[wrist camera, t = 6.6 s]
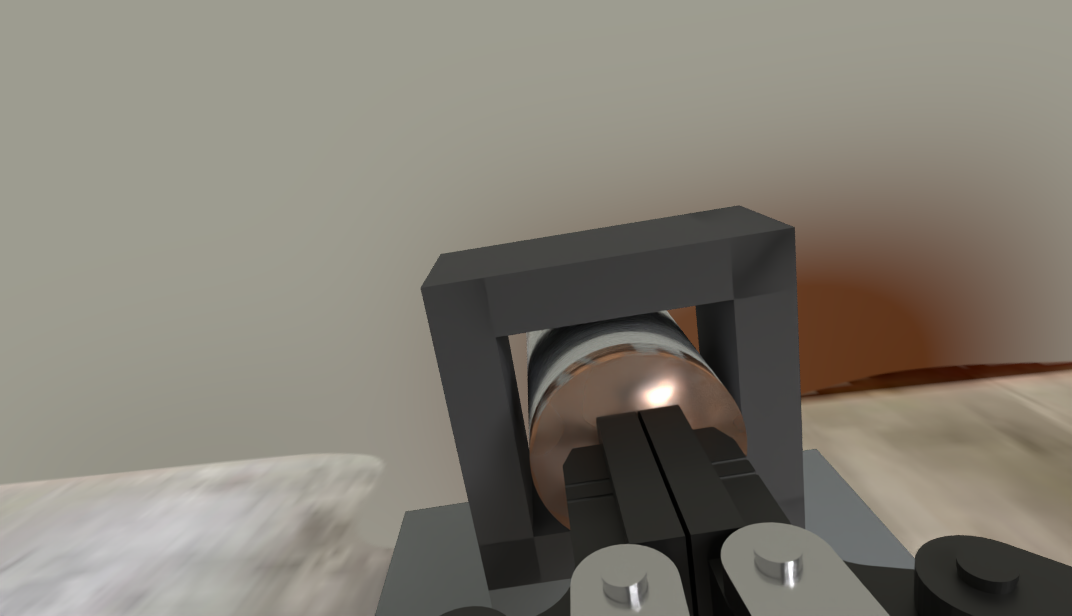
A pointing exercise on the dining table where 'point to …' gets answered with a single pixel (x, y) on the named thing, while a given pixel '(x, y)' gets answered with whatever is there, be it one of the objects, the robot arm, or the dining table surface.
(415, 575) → the base plate
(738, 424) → the steel peg
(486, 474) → the rubber collar
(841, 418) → the dining table surface
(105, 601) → the dining table surface
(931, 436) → the dining table surface
